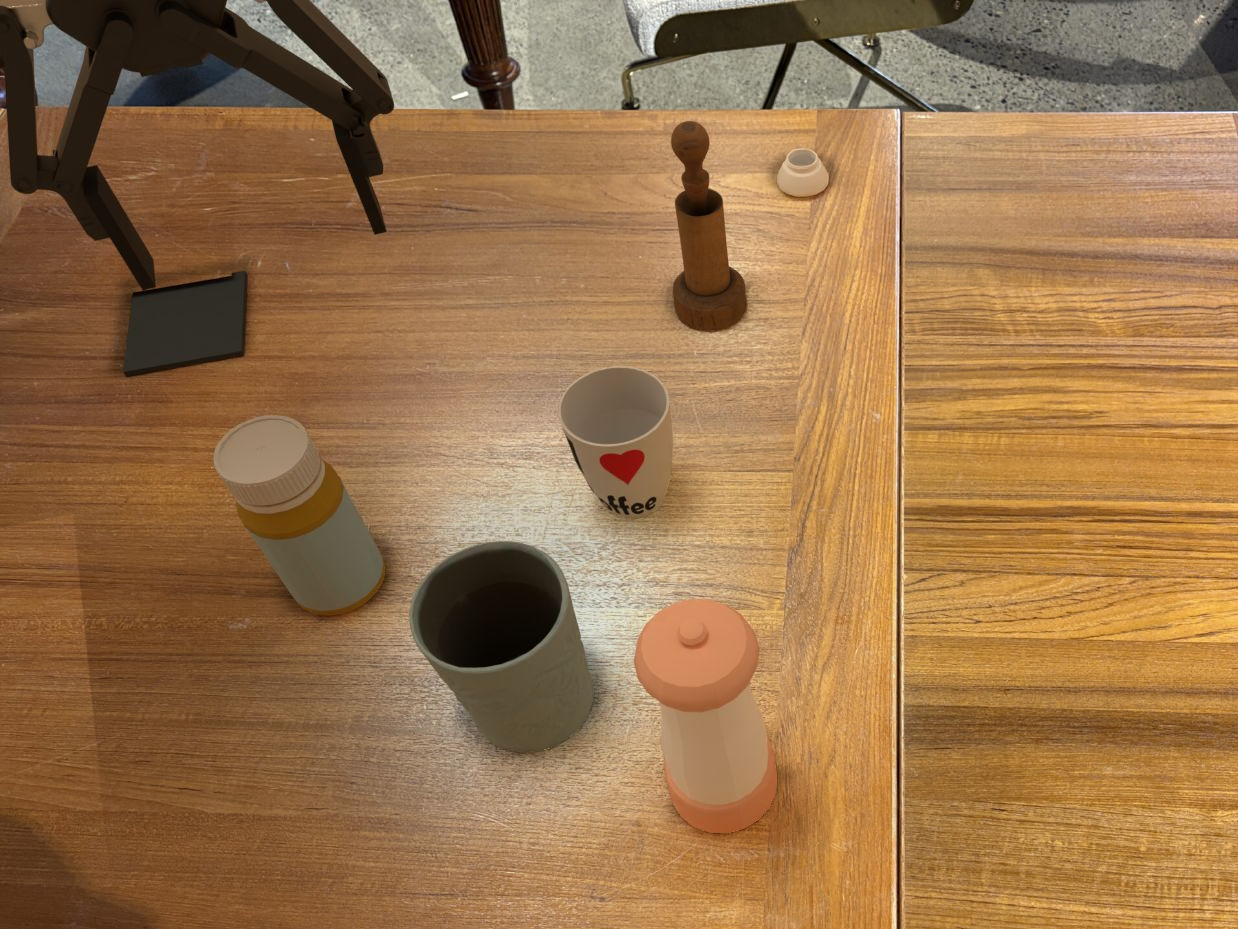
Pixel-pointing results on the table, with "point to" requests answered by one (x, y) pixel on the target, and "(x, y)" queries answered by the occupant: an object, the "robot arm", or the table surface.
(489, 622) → the grey cylindrical pot
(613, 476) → the cup
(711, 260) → the mortar and pestle
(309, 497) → the bottle
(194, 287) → the mat
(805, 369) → the table surface
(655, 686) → the pepper shaker
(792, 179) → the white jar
